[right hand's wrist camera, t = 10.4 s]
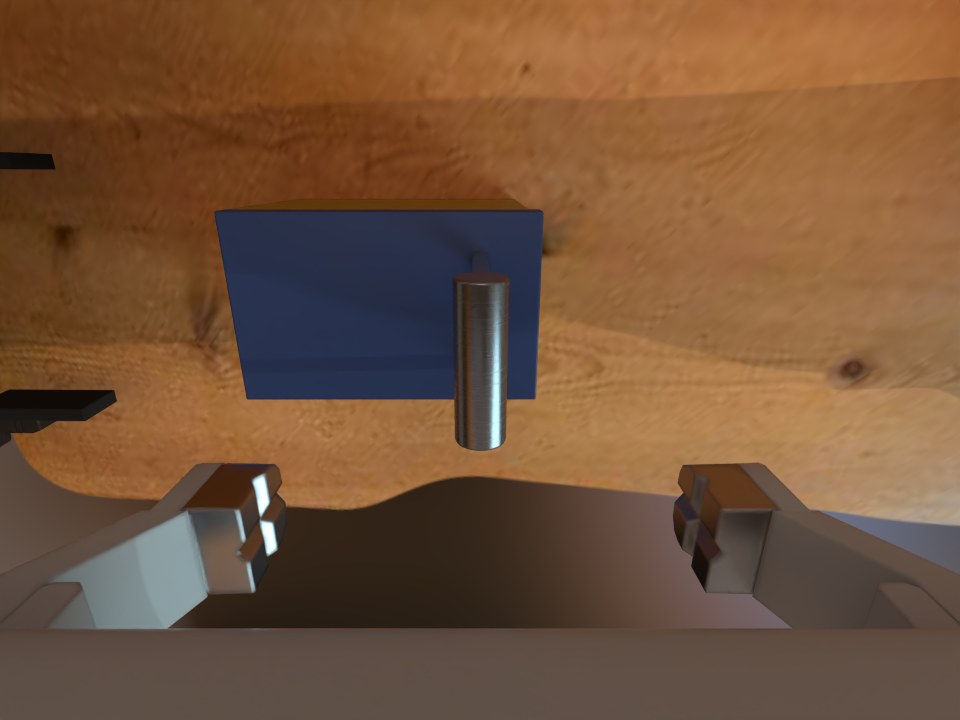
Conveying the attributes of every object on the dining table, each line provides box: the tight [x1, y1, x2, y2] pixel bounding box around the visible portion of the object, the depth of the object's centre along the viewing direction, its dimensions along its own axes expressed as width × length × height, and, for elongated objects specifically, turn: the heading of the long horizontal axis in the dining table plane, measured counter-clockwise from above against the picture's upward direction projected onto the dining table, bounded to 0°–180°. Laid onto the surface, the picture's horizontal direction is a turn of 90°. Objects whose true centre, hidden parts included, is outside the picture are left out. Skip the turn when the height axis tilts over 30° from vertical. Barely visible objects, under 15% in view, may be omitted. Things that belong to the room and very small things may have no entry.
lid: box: [215, 209, 543, 451], centre depth 21 cm, size 14×9×9 cm, turn 90°
